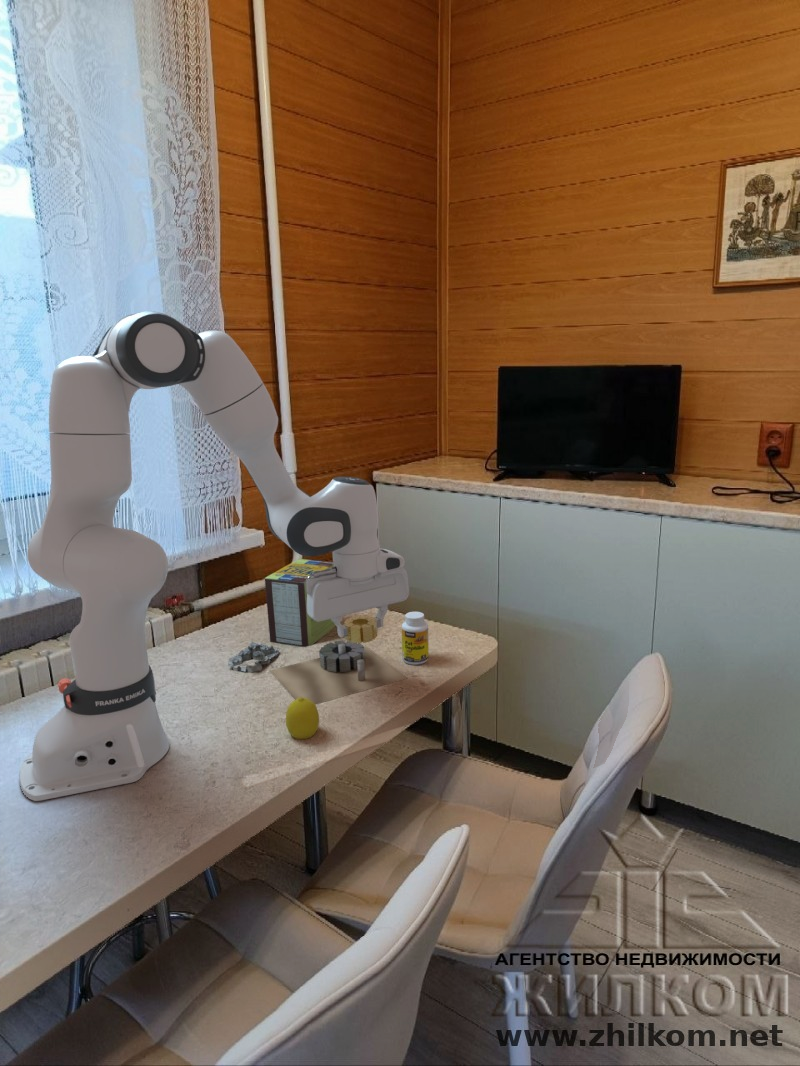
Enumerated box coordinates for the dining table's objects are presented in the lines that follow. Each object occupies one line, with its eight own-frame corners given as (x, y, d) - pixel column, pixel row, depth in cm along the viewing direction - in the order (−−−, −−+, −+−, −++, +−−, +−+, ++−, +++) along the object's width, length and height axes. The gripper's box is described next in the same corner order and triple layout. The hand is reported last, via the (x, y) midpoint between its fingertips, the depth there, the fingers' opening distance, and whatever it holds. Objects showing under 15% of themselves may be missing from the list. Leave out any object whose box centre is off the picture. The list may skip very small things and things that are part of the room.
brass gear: (353, 645, 131) (353, 630, 130) (340, 634, 136) (339, 620, 135) (382, 638, 134) (381, 623, 133) (367, 627, 139) (367, 613, 138)
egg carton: (256, 682, 141) (255, 663, 140) (225, 677, 143) (223, 658, 142) (284, 660, 150) (282, 642, 149) (254, 655, 153) (252, 638, 152)
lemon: (314, 750, 116) (311, 707, 113) (282, 748, 117) (279, 704, 115) (324, 733, 121) (322, 691, 119) (294, 730, 122) (291, 688, 120)
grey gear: (331, 676, 138) (330, 663, 137) (313, 659, 146) (312, 646, 145) (372, 665, 142) (371, 652, 141) (352, 649, 150) (352, 637, 149)
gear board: (302, 715, 127) (301, 687, 125) (269, 677, 142) (267, 652, 141) (408, 684, 137) (407, 659, 136) (366, 652, 152) (365, 628, 151)
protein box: (340, 623, 169) (337, 561, 165) (308, 648, 156) (304, 582, 152) (302, 618, 173) (298, 558, 169) (268, 642, 159) (263, 577, 156)
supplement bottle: (401, 665, 146) (400, 619, 143) (403, 654, 151) (402, 609, 148) (428, 666, 145) (427, 619, 143) (429, 654, 150) (428, 609, 148)
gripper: (311, 578, 123) (317, 650, 127) (411, 556, 133) (414, 624, 136) (298, 568, 128) (304, 638, 132) (395, 549, 138) (398, 614, 142)
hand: (360, 631), depth 134 cm, fingers closed on brass gear, 6 cm apart
